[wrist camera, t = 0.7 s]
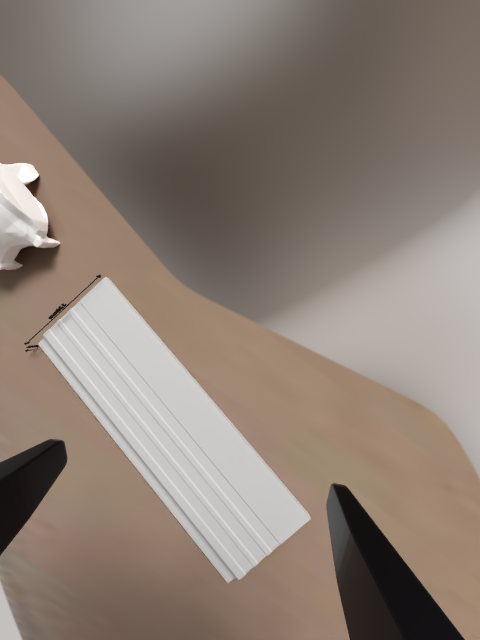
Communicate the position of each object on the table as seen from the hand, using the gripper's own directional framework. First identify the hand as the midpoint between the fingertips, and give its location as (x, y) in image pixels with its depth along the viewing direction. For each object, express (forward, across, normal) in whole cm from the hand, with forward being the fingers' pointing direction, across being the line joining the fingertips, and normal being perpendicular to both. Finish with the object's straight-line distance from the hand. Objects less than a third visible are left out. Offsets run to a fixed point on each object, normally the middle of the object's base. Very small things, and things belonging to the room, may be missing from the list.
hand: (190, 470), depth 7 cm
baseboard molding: (+14, +7, +11) cm, 19 cm away
